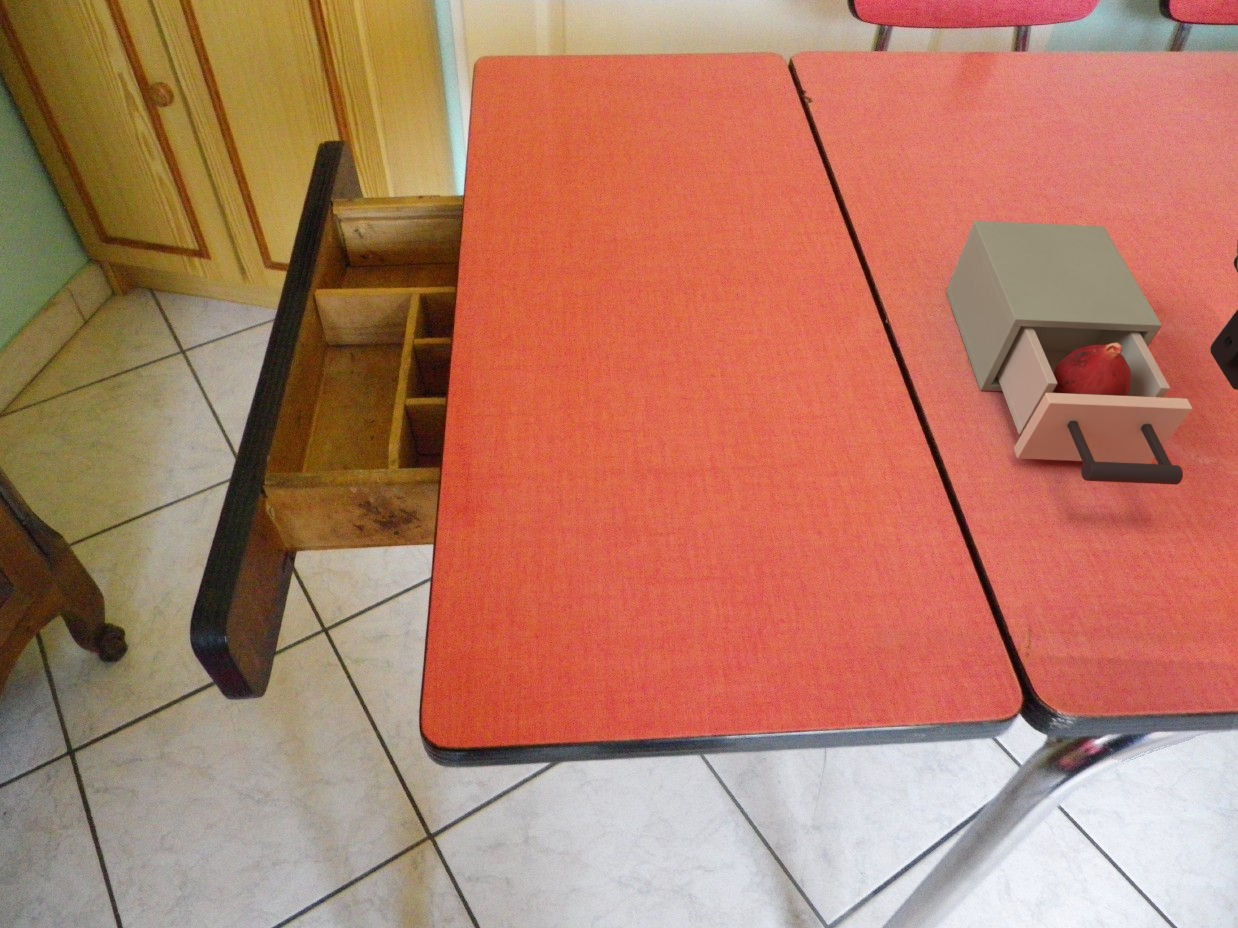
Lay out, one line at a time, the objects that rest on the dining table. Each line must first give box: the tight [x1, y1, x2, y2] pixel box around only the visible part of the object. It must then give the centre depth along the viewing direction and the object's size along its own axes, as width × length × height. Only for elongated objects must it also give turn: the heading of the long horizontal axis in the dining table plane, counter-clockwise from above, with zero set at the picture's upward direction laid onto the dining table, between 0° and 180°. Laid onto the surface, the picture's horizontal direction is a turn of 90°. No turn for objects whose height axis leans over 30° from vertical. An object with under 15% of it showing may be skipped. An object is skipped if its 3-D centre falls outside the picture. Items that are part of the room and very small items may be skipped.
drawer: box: [997, 326, 1193, 486], centre depth 72 cm, size 19×11×7 cm, turn 178°
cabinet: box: [945, 220, 1163, 392], centre depth 80 cm, size 15×13×9 cm
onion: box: [1053, 343, 1131, 396], centre depth 72 cm, size 6×6×8 cm
